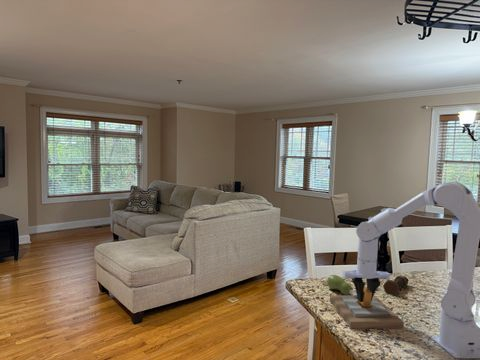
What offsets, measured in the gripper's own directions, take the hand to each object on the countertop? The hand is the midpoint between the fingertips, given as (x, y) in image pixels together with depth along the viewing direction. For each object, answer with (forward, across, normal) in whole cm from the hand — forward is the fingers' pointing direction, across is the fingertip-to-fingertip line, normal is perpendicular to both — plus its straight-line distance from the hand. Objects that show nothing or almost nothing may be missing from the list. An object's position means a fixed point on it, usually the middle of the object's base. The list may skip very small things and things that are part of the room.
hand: (364, 300), depth 104 cm
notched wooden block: (+4, 0, 0) cm, 4 cm away
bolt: (+5, -22, -20) cm, 30 cm away
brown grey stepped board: (+4, 0, 0) cm, 4 cm away
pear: (+5, +1, -18) cm, 18 cm away
